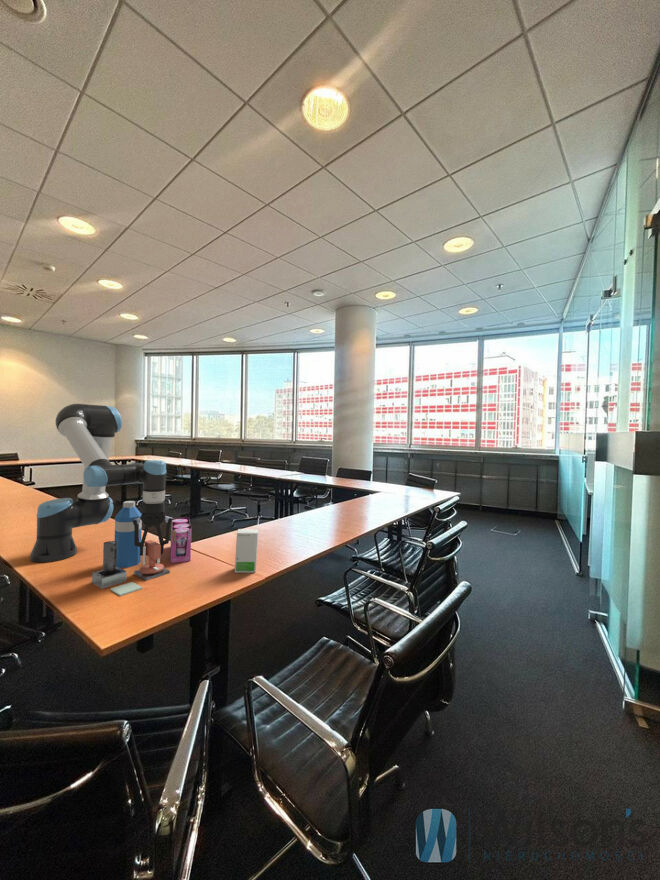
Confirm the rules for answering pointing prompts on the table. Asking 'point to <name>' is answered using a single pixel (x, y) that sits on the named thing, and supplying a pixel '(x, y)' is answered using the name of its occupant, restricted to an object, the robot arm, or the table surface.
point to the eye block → (109, 578)
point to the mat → (126, 588)
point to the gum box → (180, 540)
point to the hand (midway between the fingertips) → (151, 562)
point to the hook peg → (109, 558)
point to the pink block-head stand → (152, 558)
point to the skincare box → (246, 551)
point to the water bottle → (127, 536)
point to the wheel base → (151, 576)
